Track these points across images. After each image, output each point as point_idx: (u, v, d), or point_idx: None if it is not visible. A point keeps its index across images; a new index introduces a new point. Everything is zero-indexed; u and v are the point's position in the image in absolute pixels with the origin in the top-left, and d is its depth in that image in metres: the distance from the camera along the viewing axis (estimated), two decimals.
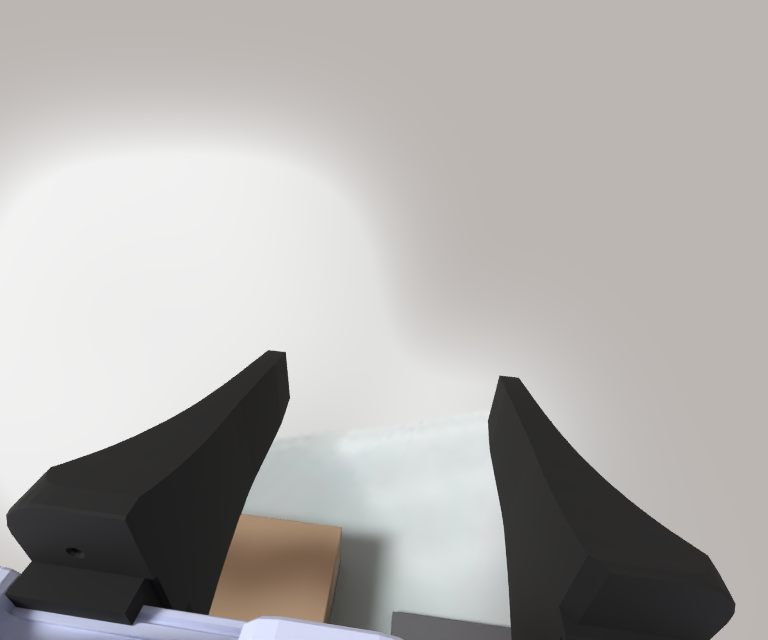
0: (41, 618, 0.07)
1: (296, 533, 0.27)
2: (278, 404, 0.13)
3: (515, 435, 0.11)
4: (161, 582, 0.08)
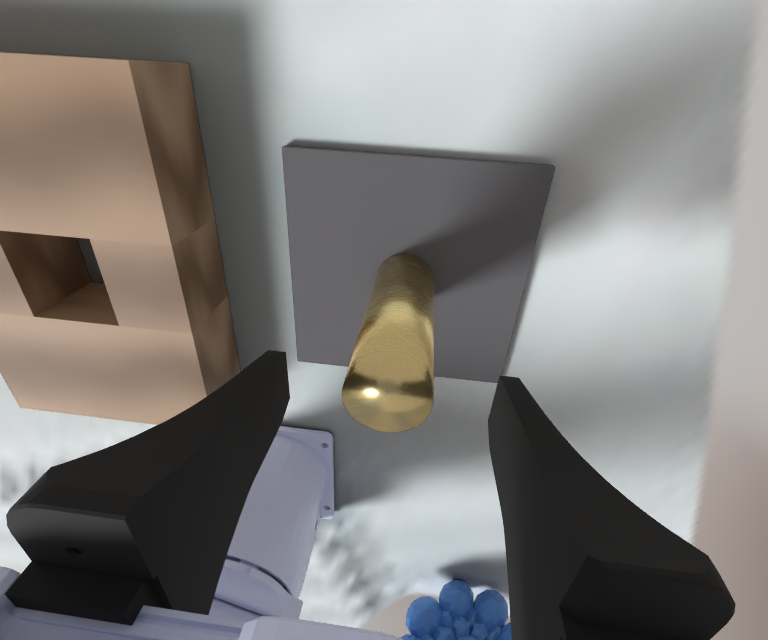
0: (41, 618, 0.07)
1: (59, 83, 0.15)
2: (278, 404, 0.13)
3: (515, 435, 0.11)
4: (161, 582, 0.08)
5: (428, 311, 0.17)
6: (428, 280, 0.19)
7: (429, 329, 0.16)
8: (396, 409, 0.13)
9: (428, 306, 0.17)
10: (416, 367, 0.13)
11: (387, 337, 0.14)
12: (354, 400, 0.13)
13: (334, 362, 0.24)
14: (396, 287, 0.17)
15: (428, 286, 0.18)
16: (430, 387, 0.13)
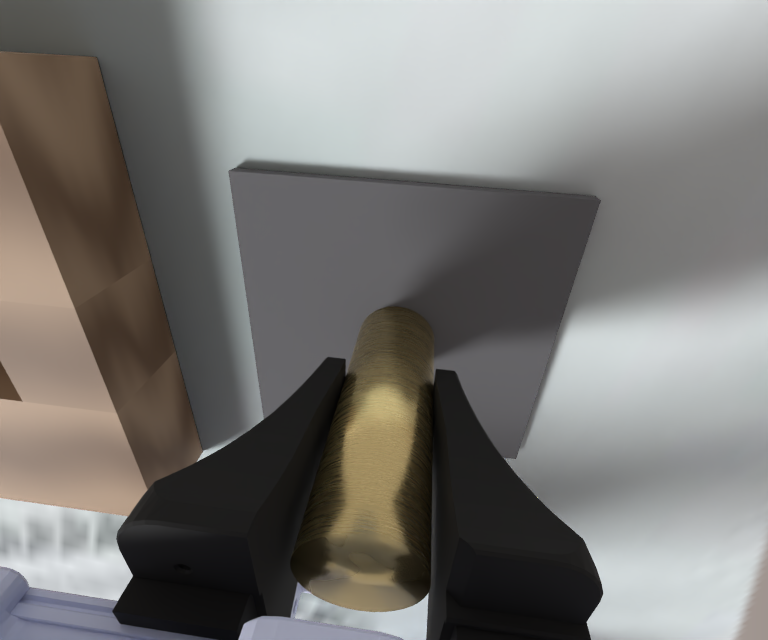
0: (147, 635, 0.07)
1: None
2: None
3: (439, 426, 0.11)
4: (263, 597, 0.08)
5: (426, 403, 0.12)
6: (426, 348, 0.14)
7: (426, 439, 0.11)
8: (374, 588, 0.09)
9: (425, 395, 0.12)
10: (404, 536, 0.08)
11: (361, 473, 0.09)
12: (310, 574, 0.09)
13: None
14: (382, 368, 0.12)
15: (426, 358, 0.14)
16: (426, 565, 0.08)
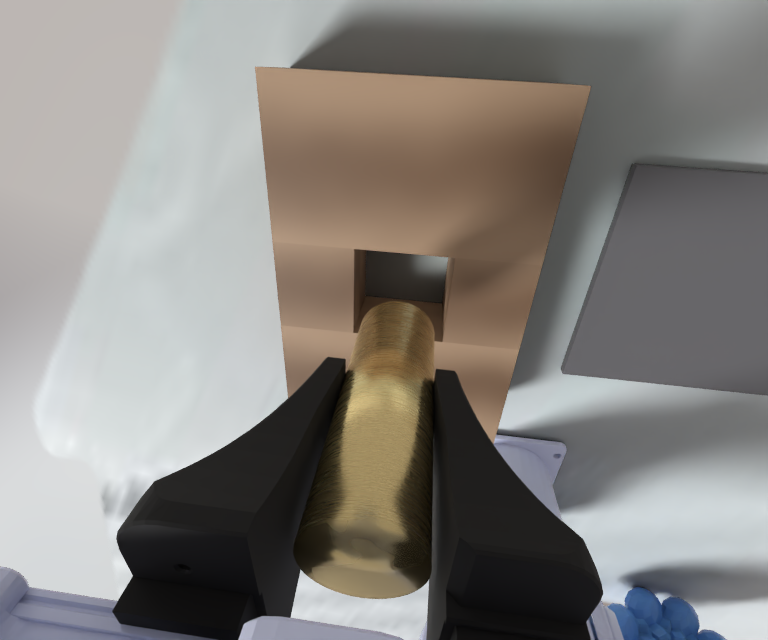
0: (147, 635, 0.07)
1: (502, 107, 0.15)
2: None
3: (439, 426, 0.11)
4: (263, 597, 0.08)
5: (426, 395, 0.12)
6: (426, 341, 0.14)
7: (426, 429, 0.11)
8: (376, 574, 0.09)
9: (426, 387, 0.12)
10: (405, 521, 0.08)
11: (362, 462, 0.09)
12: (312, 561, 0.09)
13: (602, 375, 0.24)
14: (382, 360, 0.12)
15: (426, 351, 0.14)
16: (427, 550, 0.08)
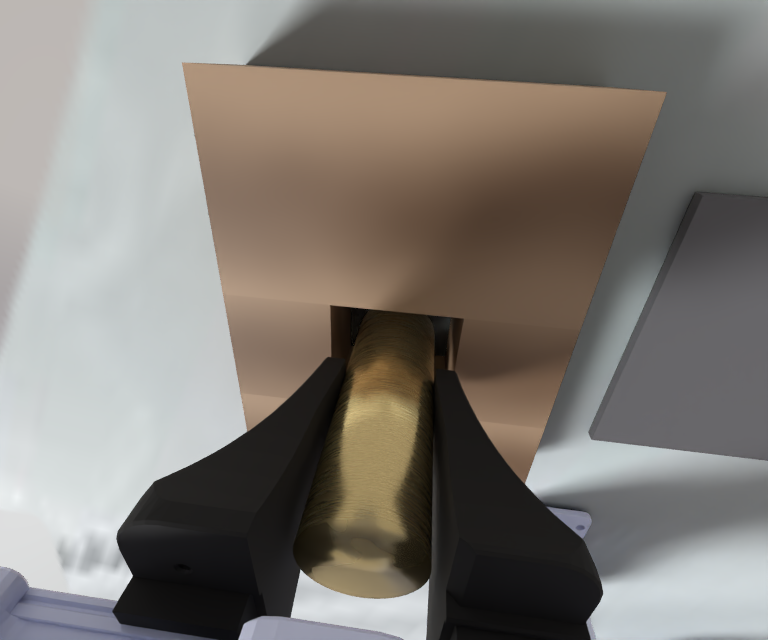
0: (147, 635, 0.07)
1: (535, 122, 0.10)
2: None
3: (439, 426, 0.11)
4: (262, 598, 0.08)
5: (426, 395, 0.12)
6: (426, 341, 0.14)
7: (426, 429, 0.11)
8: (376, 574, 0.09)
9: (425, 387, 0.12)
10: (405, 521, 0.08)
11: (362, 461, 0.09)
12: (312, 561, 0.09)
13: (640, 442, 0.20)
14: (382, 360, 0.12)
15: (426, 351, 0.14)
16: (426, 550, 0.08)
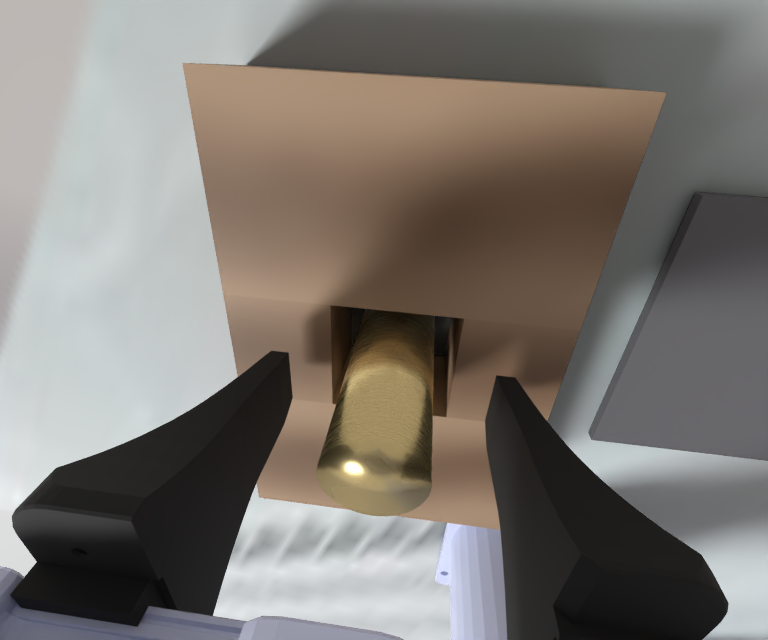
0: (47, 619, 0.07)
1: (535, 123, 0.10)
2: (281, 404, 0.13)
3: (511, 435, 0.11)
4: (167, 583, 0.08)
5: (427, 354, 0.14)
6: None
7: (427, 380, 0.13)
8: (385, 491, 0.11)
9: (427, 348, 0.14)
10: (410, 443, 0.10)
11: (374, 399, 0.11)
12: (332, 480, 0.11)
13: (640, 443, 0.20)
14: (389, 324, 0.14)
15: (427, 320, 0.16)
16: (428, 468, 0.10)
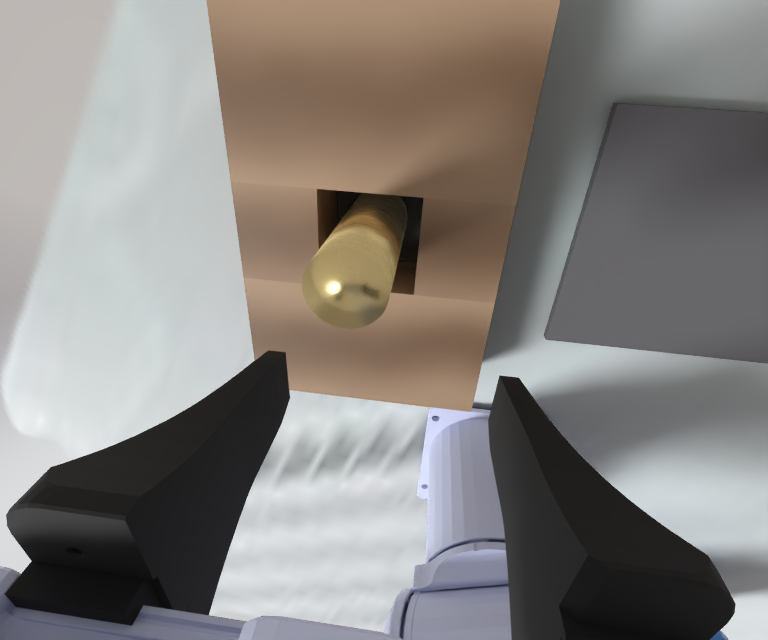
0: (41, 618, 0.07)
1: (468, 22, 0.14)
2: (278, 404, 0.13)
3: (515, 435, 0.11)
4: (161, 582, 0.08)
5: (394, 227, 0.17)
6: (399, 208, 0.19)
7: (393, 239, 0.16)
8: (355, 302, 0.14)
9: (395, 224, 0.17)
10: (372, 255, 0.13)
11: (347, 234, 0.14)
12: (314, 293, 0.14)
13: (587, 341, 0.23)
14: (364, 206, 0.17)
15: (398, 212, 0.19)
16: (386, 276, 0.13)
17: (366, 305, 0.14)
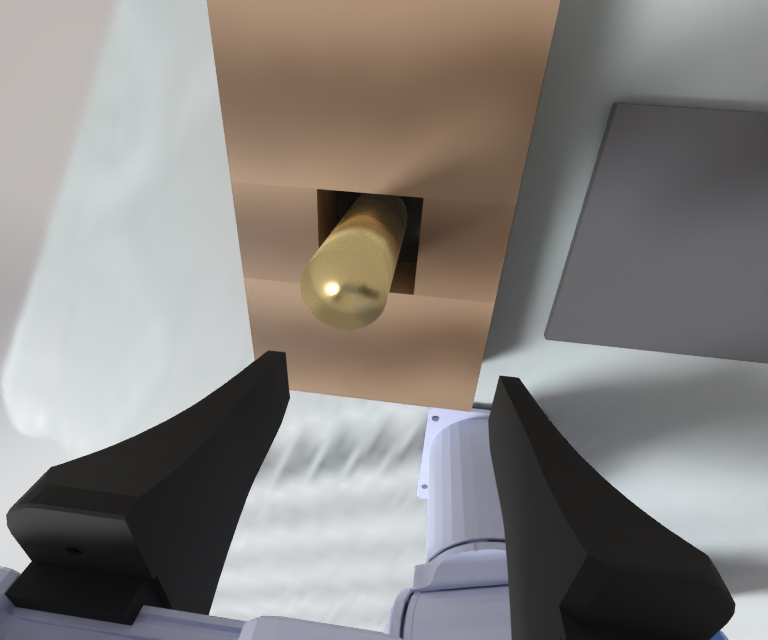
0: (41, 618, 0.07)
1: (467, 22, 0.14)
2: (278, 404, 0.13)
3: (515, 435, 0.11)
4: (161, 582, 0.08)
5: (394, 228, 0.17)
6: (399, 209, 0.19)
7: (392, 240, 0.16)
8: (353, 303, 0.14)
9: (394, 225, 0.17)
10: (370, 257, 0.13)
11: (345, 235, 0.14)
12: (312, 294, 0.14)
13: (587, 341, 0.23)
14: (364, 207, 0.17)
15: (398, 213, 0.19)
16: (384, 277, 0.13)
17: (364, 306, 0.14)
